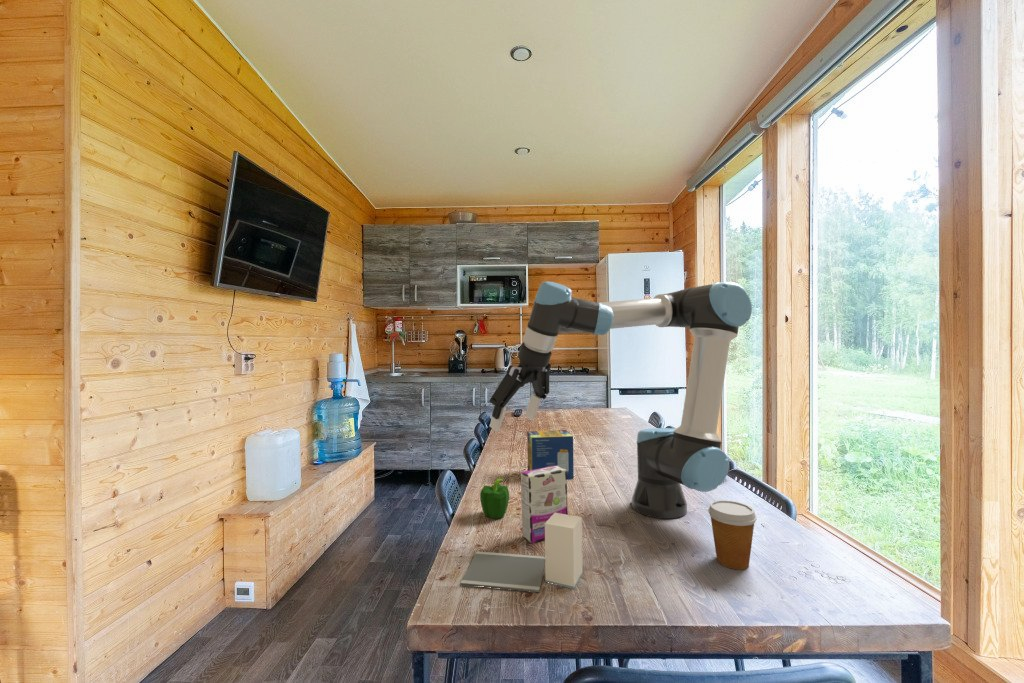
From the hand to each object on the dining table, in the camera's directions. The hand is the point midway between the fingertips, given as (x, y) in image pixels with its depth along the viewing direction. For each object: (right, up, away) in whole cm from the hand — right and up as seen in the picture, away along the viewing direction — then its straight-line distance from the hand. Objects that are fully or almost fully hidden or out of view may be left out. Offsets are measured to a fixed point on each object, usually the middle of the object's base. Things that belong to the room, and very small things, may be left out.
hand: (512, 423), depth 108 cm
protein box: (+14, -29, +48) cm, 58 cm away
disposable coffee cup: (+48, -28, -14) cm, 58 cm away
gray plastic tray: (-1, -28, -17) cm, 33 cm away
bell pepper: (-5, -29, +13) cm, 32 cm away
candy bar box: (+8, -29, 0) cm, 30 cm away
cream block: (+11, -28, -20) cm, 36 cm away
